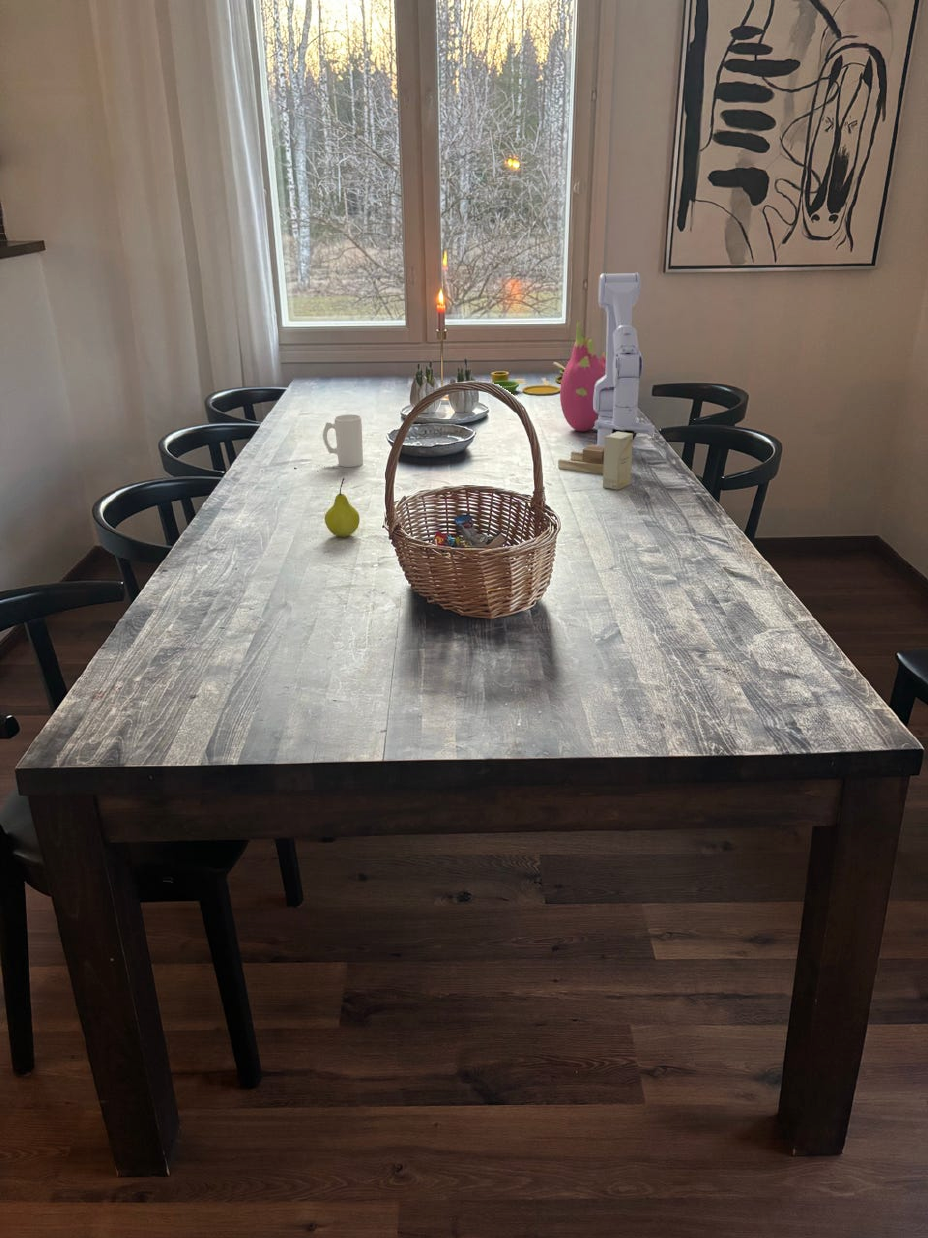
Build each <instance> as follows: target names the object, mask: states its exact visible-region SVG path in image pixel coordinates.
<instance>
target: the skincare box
mask: <svg viewBox="0 0 928 1238" xmlns="http://www.w3.org/2000/svg"><path fill="white" fill-rule="evenodd" d="M633 441H634V440H633V434H632V433H625V432H619V431H617V432H615V433H612V434H610V435H607V436H605V444H604V467H603V474H602V487H603V488H606V489H610V490H616V491H617V490H618V491H619V490H622V489H623V488H625V487H627V486H629V485H631V483H632V482H631V481H632V467H633V466H632V463H633V448H634V447H633V444H634V442H633Z"/></svg>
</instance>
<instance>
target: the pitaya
mask: <svg viewBox="0 0 928 1238" xmlns="http://www.w3.org/2000/svg"><path fill="white" fill-rule="evenodd" d="M575 336H576V337H575V343H574V345H573V350H572V352H571V357H570V360H569V361H568V362H567V364H566V366H565V371H564V373H563V377H562V381H561V384H560V387H559V388H560V391H559V397H560V398H559V400H560V401H559V402H560V405H561V410H562V411H561V412H562V414H563V417H564V419H565V421H566V422H567V423H568V425H569V426H570V427H571V428H572V429H573V430H575V431H578V432H588V431H590V430H592V429H594V428H595V421H596V420H598V413H596V412H595V411H594V409H593V394H594V385H595V383H596V382H597V381H598V380H599V379H601V378H602V377H603V376H605V370H606V351H603V352H602V355H601V358H598V357H597V355H596V352H595V349H594V340H593V339H589V340H587V338H585V336H583V334H582V331H581V322H580V321H578V322H577V323H576V335H575ZM602 389H611V387H605V388H602Z"/></svg>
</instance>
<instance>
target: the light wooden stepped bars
mask: <svg viewBox="0 0 928 1238" xmlns="http://www.w3.org/2000/svg"><path fill="white" fill-rule="evenodd" d="M582 456H583V451H574V450H573V451H571V452H570V460H567V459H562V458H560V459H558V462H557V463H558V464H557V468H558V469H562V470H568V471H577V472H585V473H590V474H591V473H593V474H599V475H600V474H601V475H603V467H604V465H602V464H594V463H586V462H582Z"/></svg>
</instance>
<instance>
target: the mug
mask: <svg viewBox="0 0 928 1238" xmlns="http://www.w3.org/2000/svg"><path fill="white" fill-rule="evenodd" d="M333 420H334V423H332V422H331V421H326V422H325V425H324V428H323V432H322V440H323V442H324V445H325V447H326V449H327V451H328V453H329V454H334V455H337V459H338V460H337V461H338V466H339V467H344V468H356V467H359V466H362V465H363V464H364V455H363V453H364V452H363V451H364V450H363V425H362V416H361V415H359V414H353V413H352V414H351V413H350V414H340V415H336V416H334V417H333ZM330 429H334V431H335V439H336V441H335V442H336V447H333V446H331V445H332V444H330V443H329V442H330V441H329V439H328V432H329V430H330Z"/></svg>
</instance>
